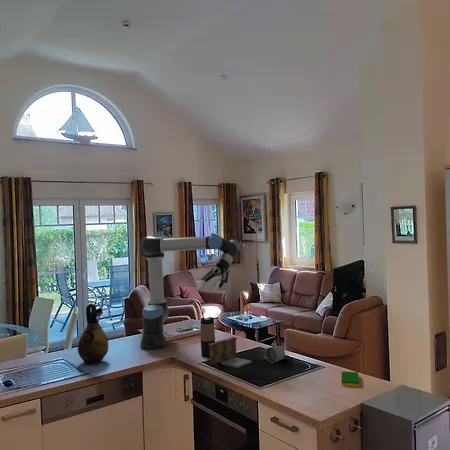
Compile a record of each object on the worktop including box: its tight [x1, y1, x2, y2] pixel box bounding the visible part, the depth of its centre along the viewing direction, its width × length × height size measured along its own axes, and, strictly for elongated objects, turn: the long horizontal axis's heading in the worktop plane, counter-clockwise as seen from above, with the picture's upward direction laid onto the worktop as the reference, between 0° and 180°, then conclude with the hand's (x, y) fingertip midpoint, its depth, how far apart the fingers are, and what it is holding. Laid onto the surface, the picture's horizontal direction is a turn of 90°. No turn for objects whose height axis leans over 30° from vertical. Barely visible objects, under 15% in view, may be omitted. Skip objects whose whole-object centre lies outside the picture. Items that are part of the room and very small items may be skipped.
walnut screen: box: [208, 336, 238, 366], centre depth 231 cm, size 19×3×10 cm, turn 137°
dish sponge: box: [341, 371, 360, 388], centre depth 195 cm, size 7×14×2 cm, turn 165°
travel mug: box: [199, 316, 216, 359], centre depth 240 cm, size 8×8×20 cm
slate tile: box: [220, 356, 253, 369], centre depth 225 cm, size 11×11×1 cm
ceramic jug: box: [77, 303, 109, 366], centre depth 234 cm, size 17×15×30 cm
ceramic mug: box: [263, 345, 286, 364], centre depth 229 cm, size 11×8×8 cm
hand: (207, 291), depth 257 cm, fingers open, 13 cm apart
